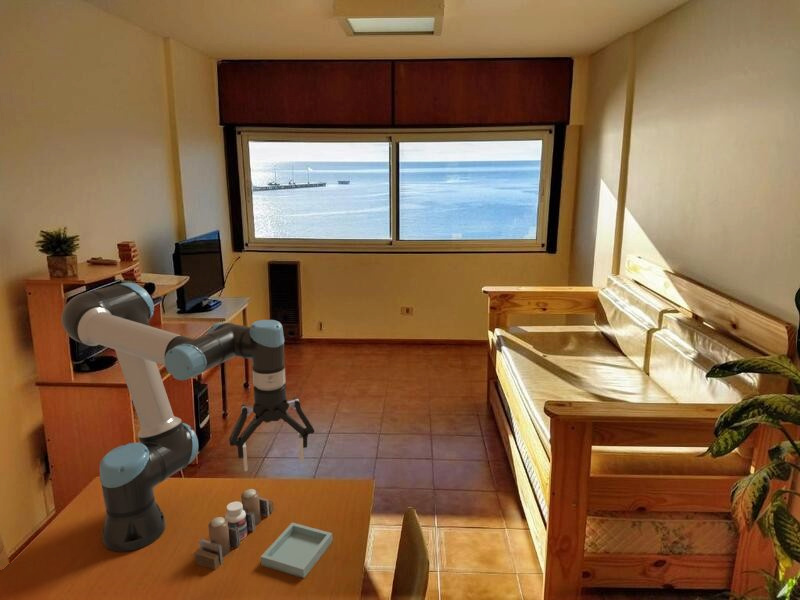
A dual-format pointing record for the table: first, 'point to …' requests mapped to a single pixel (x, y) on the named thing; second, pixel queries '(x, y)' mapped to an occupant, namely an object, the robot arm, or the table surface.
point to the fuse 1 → (220, 534)
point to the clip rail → (212, 551)
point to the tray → (297, 550)
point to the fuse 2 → (251, 503)
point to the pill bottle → (237, 518)
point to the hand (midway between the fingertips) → (274, 463)
